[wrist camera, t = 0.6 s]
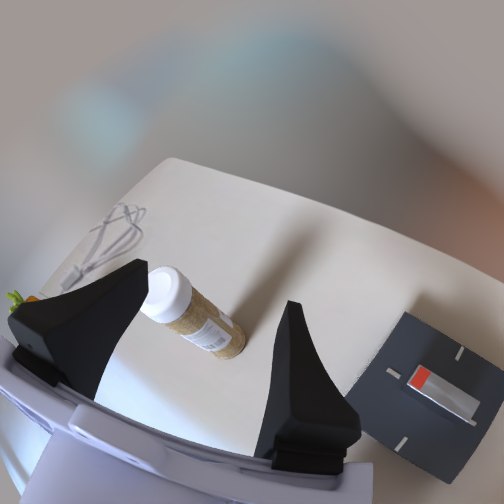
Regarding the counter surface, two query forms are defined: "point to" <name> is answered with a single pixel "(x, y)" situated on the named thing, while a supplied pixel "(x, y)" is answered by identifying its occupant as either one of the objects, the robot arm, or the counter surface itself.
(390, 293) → the counter surface
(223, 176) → the counter surface
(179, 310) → the sprinkles bottle
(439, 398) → the tap handle
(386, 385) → the base
